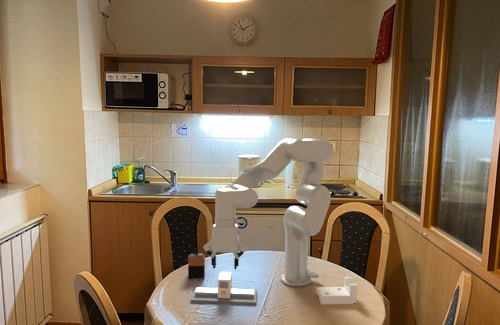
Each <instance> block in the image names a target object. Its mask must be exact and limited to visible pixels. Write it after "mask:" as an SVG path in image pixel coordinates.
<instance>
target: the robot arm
mask: <svg viewBox="0 0 500 325" xmlns="http://www.w3.org/2000/svg"><path fill="white" fill-rule="evenodd" d="M333 154H334V146H333V144H332V143H331V142H330V141H329V140H325V139H318V138H312V137H311V138H309V137H306V138H302V139H298V138H289V137H288V138H283V139H281V140H280V141H279V142H278V143H277V145H275V146H274V147H273V149H272V150H270V151H269V153H268V154H267V155H266V156H265V157H264V158H263V160H261V161H260V162H259V163H257V164H255V165H253V166H252V167H251V168H249V169H247V170H245V171H244V172H243V173H241V174H240V175H239V176H238V177H237V178H236V179H235V180H234V181H233V183H232V184H231V185H230V186H229V187H221V188H218V189H216V191H215V193H214V195H215V196H214V199H215V200H214V202H215V204H214V205H215V206H214V207H215V208H214V212H215V213H214V214H215V215H214V216H215V217H214V221H215V223H214V224H213V225H212V233H211V240H209V241H208V242H207V243H206V244H204V245H203V249H204V251H205V252H206V254H207V255H208V256H210V258H211V262H210V263H211V266H212V269H213V270H215V269H216V266H217V256H216V255H217V253H225V254H226V253H232V255H234V259H233V260H234V261H233V263H234V264H233V267H234V268H233V269H234V270H237V268H238V267H239V264H240V263H239V259H240V258H241V257H242V256H243V254H245V252H246V251H247V249H248V247H247V246H246V245H245V244H244V243H242V242H241V241H240V233H239V225H238V223H240V218H237V217H236V216H237V215H236V214H237V213H236V209H237V208H238V209H250V208H253V207H254V206H256V205H257V203H258V201H259V195H258V193H257V192H256V191H255V189H253V188H254V187H255V186H256V185H258V184H261V183H263V182H267V181H271V180H273V179H276V178H277V177H278V176H280V174H281V173H282V172H283V171H284V170H285V169H286V168H287V166H289V164H290V163H291V162H297V163H303V167H302V168H303V169H302V173H301V176H300V179H299V182H298V185H297V186H296V190H295V194H294V195H295V197H294V198H295V199H296V201H297V202H298V203H300V204H302V205H304V206H306V208H305V207H303V206H299V205H291V206H289V207H288V208H286V210H285V212H284V215H283V225H284V232H285V234H284V235H285V239H284V240H285V241H284V242H285V244H284V246H285V247H284V270H283V271H284V272H283V273H282V274H281V275H280V282H282V283H283V284H285V285H287V286H292V287H304V286H308V285H309V284H310V283H311V282H312V281H311V279H312V278H313V279H319V273H318V272H316V271H314V270H313V271H310V270H309V268H308V260H309V258H308V257H309V236H315V235H317V234H319V232H320V231H321V229H322V226H323V225H324V222H325V218H326V216H327V212H328V210H329V207H330V205H331V199H332V198H331V192H330V189H328V188H327V186H325V185H322V181H323V177H324V171H325V170H324V164H323V162H326V161H327V162H328V160H330V159H331V158H332V156H333ZM209 247H211V248H209ZM239 248H241V249H240V250H239Z"/></svg>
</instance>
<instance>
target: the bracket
mask: <svg viewBox="0 0 500 325" xmlns="http://www.w3.org/2000/svg"><path fill="white" fill-rule="evenodd" d="M343 283H344V284H343V286H320V287H319V286H318V287H317V288H316V289H317V290H316V293H317V296H318V298H319V302H320V305H354V304H353V303H356V304H357V296H358V284H357V283H353V278H352V276H345V277H344V281H343Z"/></svg>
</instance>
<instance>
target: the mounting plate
mask: <svg viewBox="0 0 500 325" xmlns="http://www.w3.org/2000/svg"><path fill="white" fill-rule="evenodd" d="M196 288H202V287H200V286H199V287H195V288H194V291H193V293H192V296H191V298H190V303H198V304H201V303H202V304H226V305H227V304H228V305H248V306H249V305H252V306H256V305H257V293H258V292H257V290H258V289H254V288H253V289H252V288H248V289H249V290H254V298H245V297H230V298H218V296H195V291H196Z"/></svg>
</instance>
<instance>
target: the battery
mask: <svg viewBox="0 0 500 325" xmlns="http://www.w3.org/2000/svg"><path fill="white" fill-rule="evenodd" d="M187 257H188V258H187V265H188V267H187V268H188V269H187V277H188V279H190V280H191V279H193V280H194V279H204V278H205V274H206V272H205V271H206V270H205V269H206V268H205V267H206V266H205V264H206V262H205V261H206V260H205V257H206V255H205V254H204V253H201V252H200V253H197V254H195V253H191V254H189V255H188V256H187Z"/></svg>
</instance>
